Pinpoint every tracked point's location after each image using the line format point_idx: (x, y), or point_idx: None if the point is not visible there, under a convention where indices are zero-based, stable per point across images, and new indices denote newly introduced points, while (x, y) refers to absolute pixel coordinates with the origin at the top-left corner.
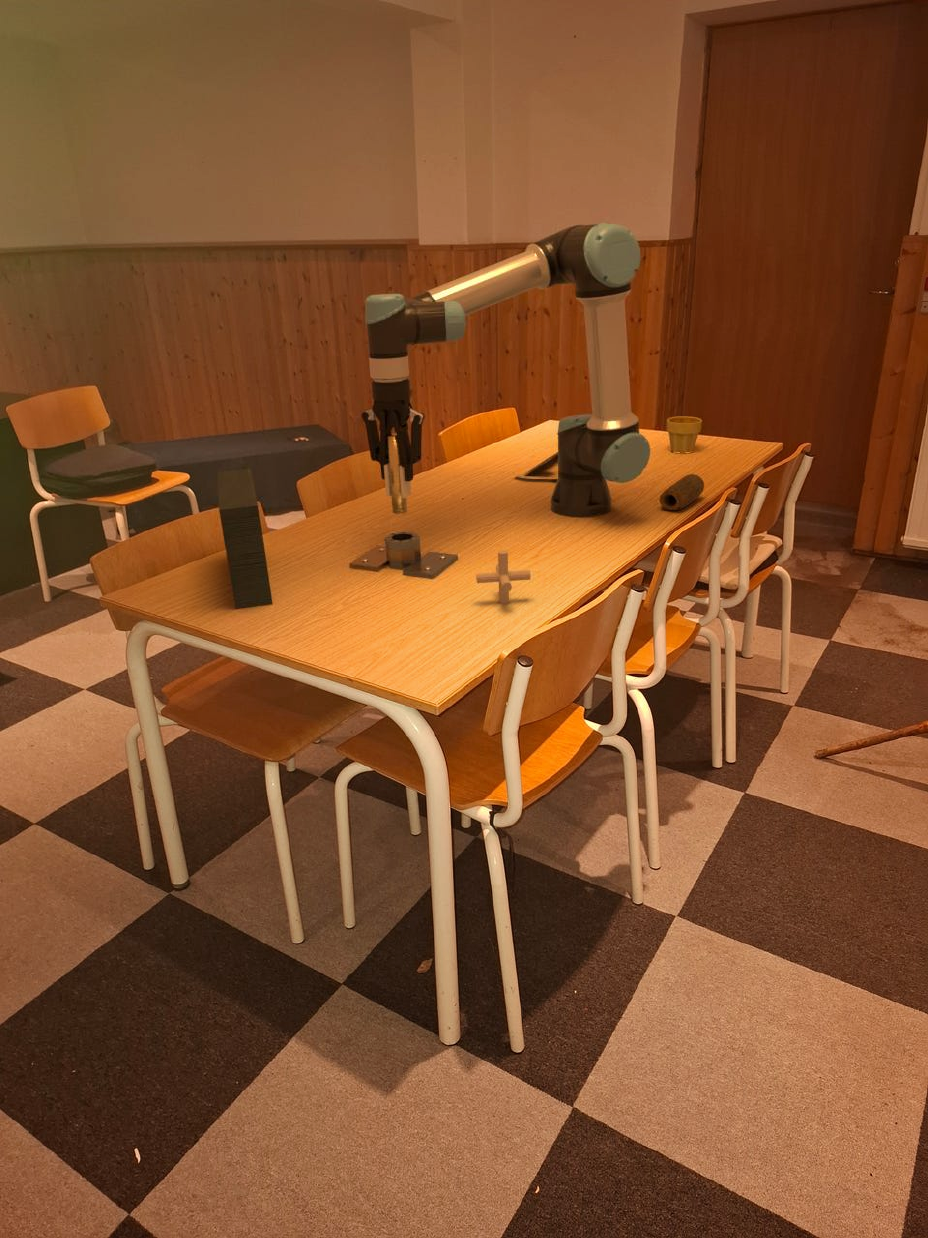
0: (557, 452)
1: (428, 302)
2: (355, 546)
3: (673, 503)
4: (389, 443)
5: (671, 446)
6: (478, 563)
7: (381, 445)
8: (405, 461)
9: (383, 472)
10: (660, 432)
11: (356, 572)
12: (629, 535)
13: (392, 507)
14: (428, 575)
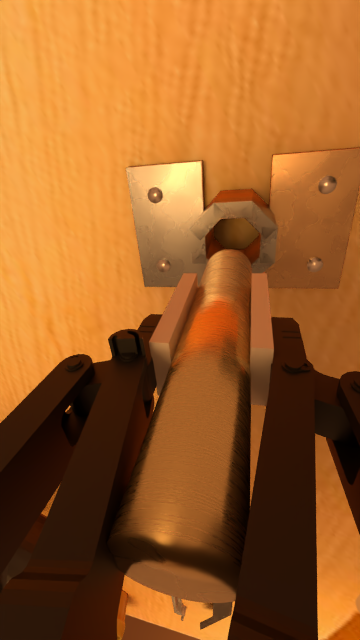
0: (228, 605)
1: None
2: None
3: None
4: (199, 467)
5: (122, 598)
6: (104, 276)
7: (294, 461)
8: (122, 363)
9: (286, 337)
10: (163, 626)
11: (328, 123)
12: (8, 413)
13: (244, 261)
14: (137, 166)
